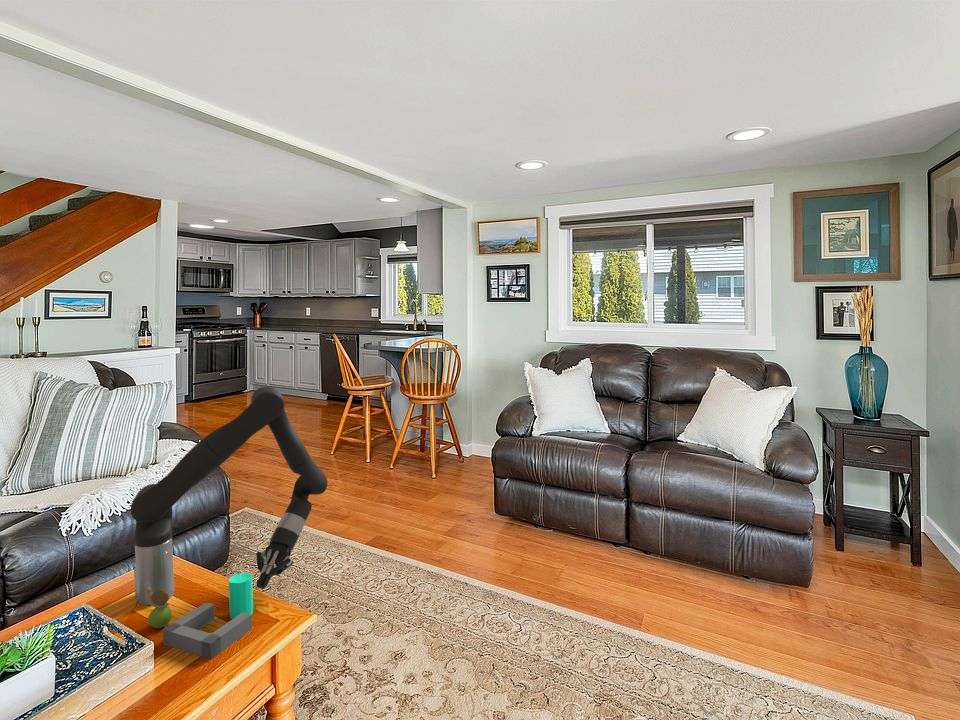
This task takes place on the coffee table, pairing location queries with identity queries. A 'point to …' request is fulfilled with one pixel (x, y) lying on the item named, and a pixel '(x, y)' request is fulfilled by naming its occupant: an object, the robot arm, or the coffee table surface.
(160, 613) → the snail figurine
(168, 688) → the coffee table surface
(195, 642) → the grey u-shaped frame
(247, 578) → the candle
